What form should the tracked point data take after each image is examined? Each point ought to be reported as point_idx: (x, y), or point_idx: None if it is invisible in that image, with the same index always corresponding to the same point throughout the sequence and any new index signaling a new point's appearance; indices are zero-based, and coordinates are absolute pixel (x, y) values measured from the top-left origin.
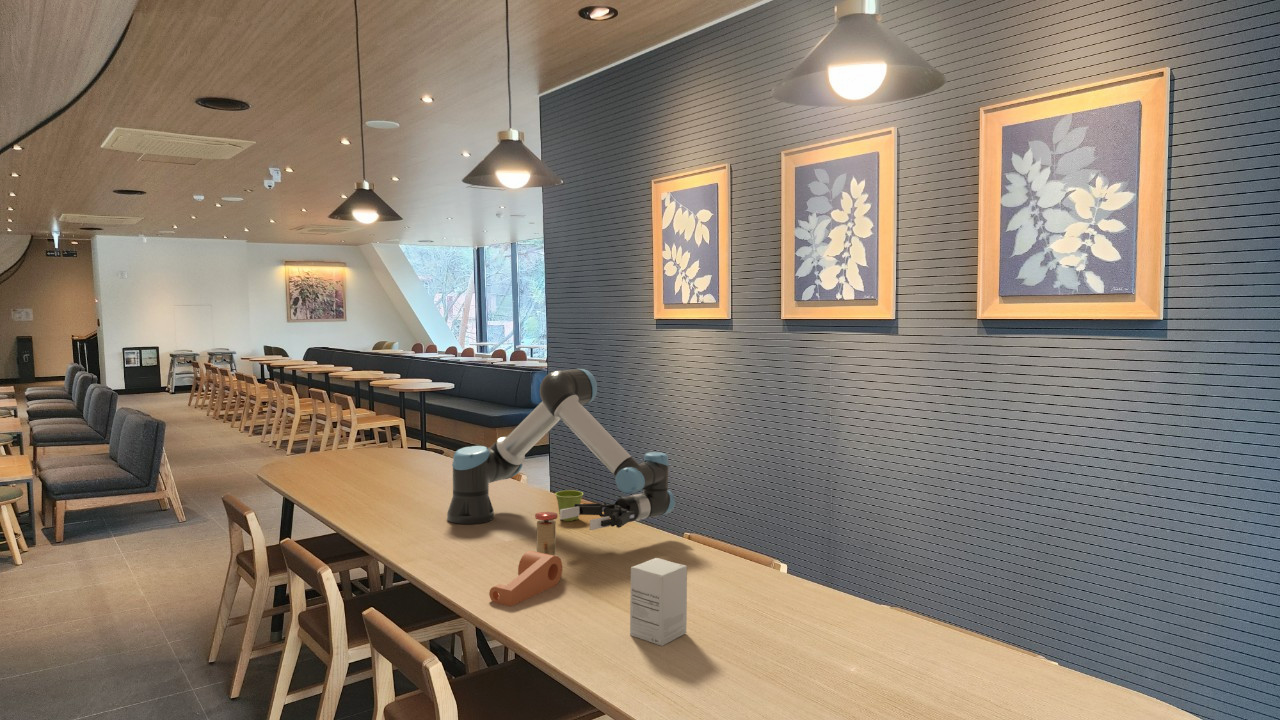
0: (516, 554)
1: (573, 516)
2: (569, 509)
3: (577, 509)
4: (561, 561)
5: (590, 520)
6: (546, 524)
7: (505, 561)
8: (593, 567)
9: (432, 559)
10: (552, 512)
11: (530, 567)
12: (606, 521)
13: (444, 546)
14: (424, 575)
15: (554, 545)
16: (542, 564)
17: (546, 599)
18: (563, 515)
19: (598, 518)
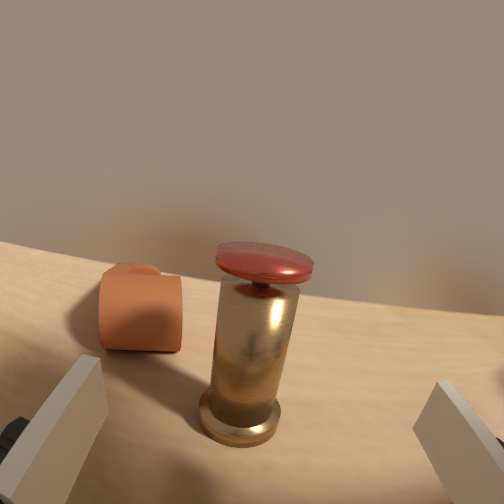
0: (384, 417)
1: (451, 495)
2: (467, 430)
3: (496, 492)
4: (98, 310)
5: (93, 358)
6: (229, 274)
7: (336, 381)
8: (89, 480)
9: (397, 326)
10: (284, 269)
11: (128, 269)
12: (1, 434)
13: (465, 352)
14: (322, 300)
15: (215, 371)
16: (109, 270)
17: (83, 307)
18: (428, 421)
19: (57, 405)
